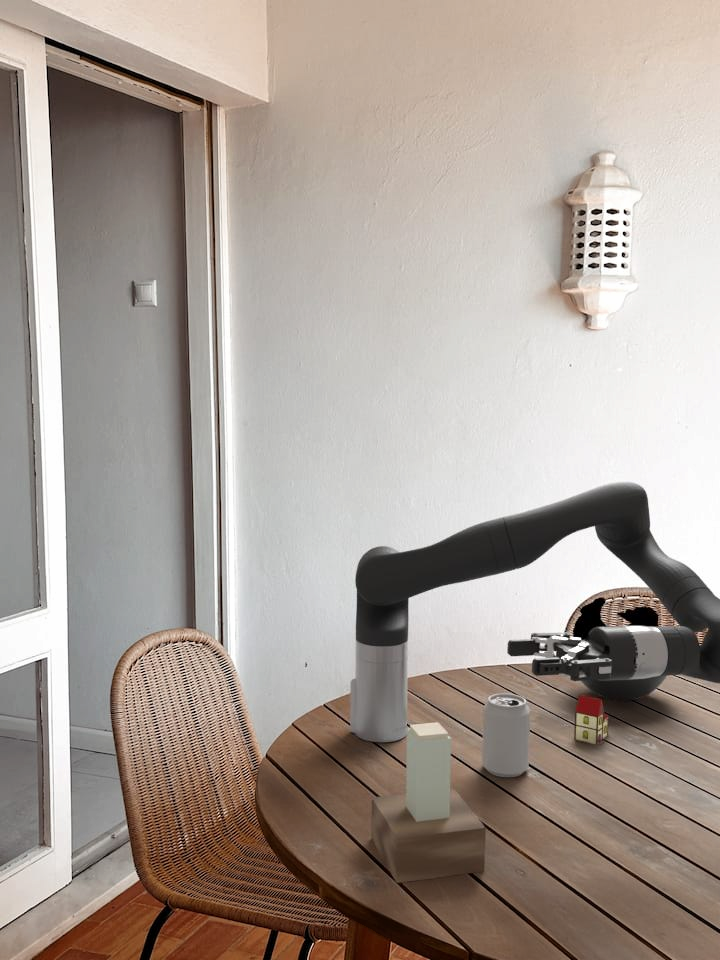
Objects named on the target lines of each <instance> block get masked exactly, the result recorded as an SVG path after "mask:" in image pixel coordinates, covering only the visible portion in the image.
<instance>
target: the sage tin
mask: <svg viewBox="0 0 720 960" xmlns="http://www.w3.org/2000/svg"><path fill="white" fill-rule="evenodd" d="M451 757H452V737H451V736H449V733H448V731H447V730H446V729H445V728H444V727H443V726H442V725H441V724H440V723H439V722H437V721H436V722H427V723H417V724H409V727H407V733H406V765H405V766H406V767H405V768H406V772H405V773H406V779H405V782H406V783H405V787H406V788H405V794H406V807H407V809H408V810H409V812H410V813H411V815H412V816H413V817H414V819H415V820H416V822H418V821H427V820H435V819H444V818H449V816H450V789H451V767H452V766H451V762H452V761H451V760H452V759H451Z"/></svg>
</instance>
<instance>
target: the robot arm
mask: <svg viewBox="0 0 720 960" xmlns="http://www.w3.org/2000/svg"><path fill="white" fill-rule="evenodd" d="M649 506H650V505H649V499H648V494H647V492H646V490H645V489H644V487H643V486H642V485H640V484H638V483H636V482H632V481H615V482H610V483H607V484H606V483H605V484H603V485H600V486H597V487H594V488H591V489H588V490H587V491H583V492H580V493H578V494H576V495H572V496H570V497H568V498H565V499H562V500H559V501H556V502H553V503H550V504H546V505H544V506H539V507H536V508H533V509H530V510H527V511H523V512H519V513H514V514H511V515H506V516H502V517H498V518H494V519H491V520H487V521H483V522H480V523H477V524H474V525H472V526H469V527H467V528H465V529H463V530H460V531H458V532H456V533H454V534H452V535H450V536H449V537H446V538H445V539H442V540H440V541H437V542H436V543H434V544H433V543H432V544H431V545H427V546H424V547H421V548H420V547H419V548H416V549H410V550H406V551H399V550H397V549H395V548H394V547H390V546H387V545H386V546H385V545H384V546H383V545H381V546H375V547H372V548H371V549H369V550H368V551H366V552H365V553H364V554H363V555H362V556H361V558H360V559H359V560H358V563H357V566H356V571H355V580H354V582H355V583H354V584H355V588H356V610H355V611H356V614H355V678H352V679H351V681H350V711H349V714H350V718H349V721H350V722H349V723H350V727H349V728H350V730H349V731H350V732H351V733H354V734H355V735H356V737H358V738H360V739H362V740H364V741H367V742H371V743H372V742H373V743H391V742H396V741H400V740H401V739H404V738H405V737H407V729H408V727H407V726H408V665H409V664H408V662H409V661H408V660H409V659H408V658H409V656H408V655H409V598H413V597H415V596H418V595H420V594H422V593H427V592H428V591H431V590H434V589H439V588H440V587H445V586H448V585H455V584H460V583H464V582H469V581H474V580H478V579H482V578H486V577H492V576H495V575H501V574H503V573H507V572H511V571H515V570H519V569H522V568H525V567H527V566H529V565H531V564H533V563H535V561H536V560H538V559H539V558H540V557H542V556H543V555H545V554H546V553H547V552H548V551H549V550H551V549H552V548H553V547H554V546H556V545H557V544H558V543H559V542H560V541H562V540H563V539H565V538H566V537H568V536H570V535H572V534H574V533H576V532H580V531H583V530H586V529H589V528H592V527H594V529H595V533H596V537H597V538H598V540H599V541H600V543H601V544H602V545H603V546H604V547H605V548H606V549H607V550H608V551H609V552H611V553H612V555H614V556H615V557H616V558H617V559H618V560H620V561H621V562H622V563H623V564H624V565H626V566H627V567H628V568H629V570H631V571H632V572H633V573H634V574H635V575H637V577H638V578H639V579H640V580H641V581H643V583H644V584H645V585H646V586H647V587H648V588H649V590H650V591H651V592H652V593H653V594H654V595H655V596H656V598H657V599H658V600H659V602H660V603H661V604H662V605H663V606H664V608H665V609H666V610H667V611H668V613H669V615H671V617H672V619H674V621H675V622H676V623H677V624H678V625H663V626H662V625H661V626H658V627H649V626H627V625H615V626H607V627H595V628H593V629H592V630H591V631H590V632H589V634H588V636H587V638H586V639H585V640H581V639H580V638H576V637H573V636H571V633H569V632H567V631H564V632H539V633H538V632H532V633H531V634H530V638H527V639H510V640H508V642H507V647H506V648H507V655H508V656H510V657H524V656H525V657H527V656H530V657H531V656H535V658H533V660H532V661H531V673H532V674H533V675H534V676H536V677H537V676H542V677H543V676H557V675H560V677H563V678H568V677H570V681H573V682H581V681H584V680H600V681H611V680H629V679H644V678H650V677H655V676H666V677H667V676H679V675H680V676H686V677H689V678H693V679H698V680H702V681H706V682H710V683H713V684H719V685H720V598H719V597H717V595H715V594H714V592H713V591H712V590H711V589H710V588H709V587H708V586H707V584H706V583H705V582H704V581H703V580H702V579H701V577H700V576H699V575H698V574H697V573H696V572H695V571H694V570H693V569H691V567H689V566H688V565H686V564H685V563H683V562H682V561H679V560H676V559H674V558H672V557H670V556H668V555H667V554H666V553H665V552H664V551H663V550H662V549H661V548H660V546H659V544H658V543H657V541H656V539H655V537H654V536H653V533H652V531H651V518H650V517H651V516H650V507H649ZM706 630H707V631H706ZM703 631H706V632H705V635H704V638H703V640H702V641H701V644H700V641H699V637H697V635H696V633H697V634H698V633H701V632H703ZM541 644H544V645H541ZM536 656H537V658H536ZM581 673H584V674H581Z"/></svg>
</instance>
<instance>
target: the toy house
mask: <svg viewBox="0 0 720 960" xmlns="http://www.w3.org/2000/svg"><path fill="white" fill-rule="evenodd" d="M577 699H578V700H577V704H576V709H575V711H574V734H573V735H574V736H573V739H574V740H577V741H581V742H585V743H589V744H593V745H600V746H602V745H604V744H606V741H605V738H606V737H608V736H609V725H610V724H609V722H610V721H609V720H610V718H609V716H608V715H607V714H606V713H605V712H604V706H603V705H604V704H603V700H602V698H601V699H600V698H597V697H591V696H587V695H583V694H579V695H578V698H577Z"/></svg>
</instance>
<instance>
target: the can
mask: <svg viewBox="0 0 720 960" xmlns="http://www.w3.org/2000/svg"><path fill="white" fill-rule="evenodd" d="M482 708H483V713H482V714H483V715H482V716H483V718H482V751H481V752H482V753H481V754H482V755H481V759H482V760H481V763H482V766H483V767H484V768H485V770H487V772H489V774H492V775H493V776H497V777H502V778H515V777H519V776H521V775H522V774H524V772H526V771H527V770H528V768H529V763H530V733H531V732H530V729H531V709H530V707H529V706H528V705H527V699H526V698H525V697H523V696H520V695H518V694H513V693H495V694H491V695H490V696H488V697H487V703H485V704H484V705H483V707H482Z"/></svg>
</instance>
